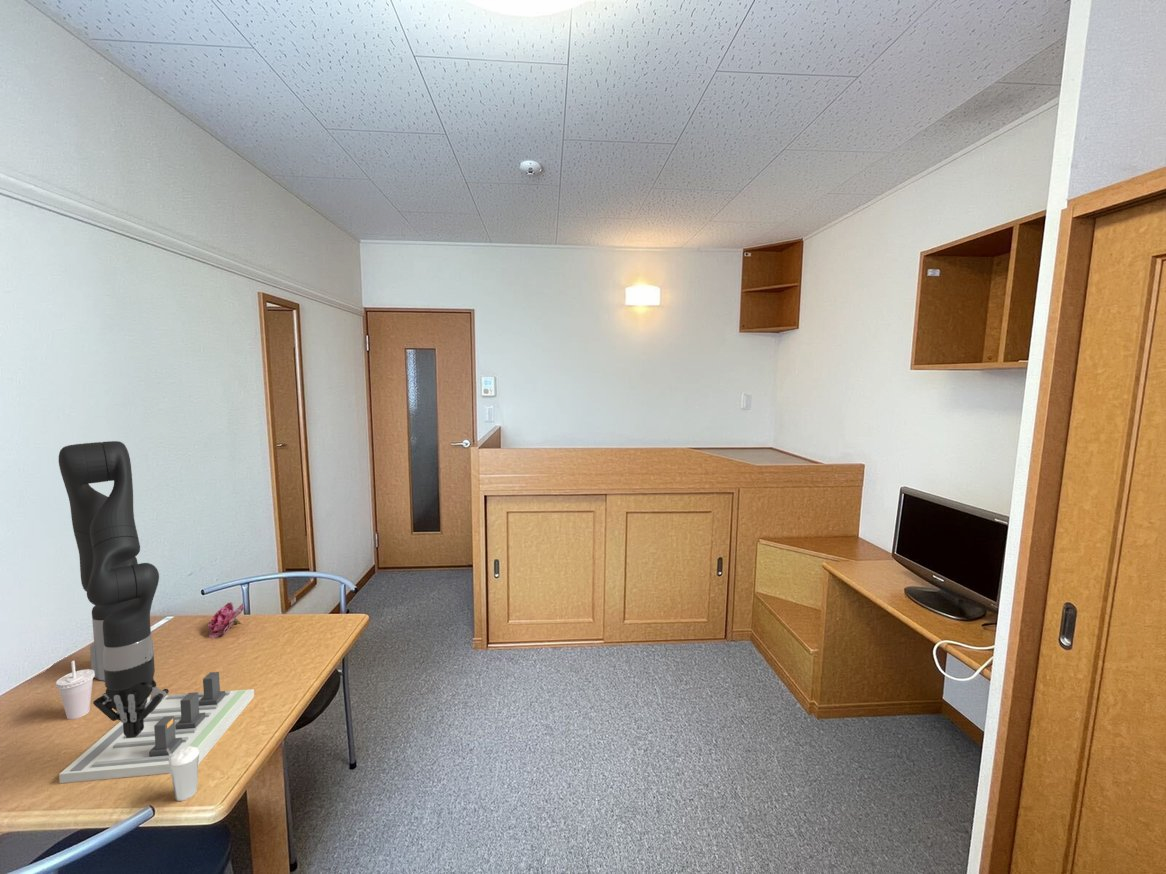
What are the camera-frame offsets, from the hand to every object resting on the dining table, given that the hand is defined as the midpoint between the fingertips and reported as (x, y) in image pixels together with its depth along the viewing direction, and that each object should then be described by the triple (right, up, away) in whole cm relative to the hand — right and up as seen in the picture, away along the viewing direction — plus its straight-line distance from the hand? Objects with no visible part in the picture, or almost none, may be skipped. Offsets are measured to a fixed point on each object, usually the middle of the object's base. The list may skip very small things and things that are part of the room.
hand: (134, 735), depth 98 cm
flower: (-22, -1, +53) cm, 58 cm away
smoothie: (-27, -4, +14) cm, 31 cm away
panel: (0, -5, +8) cm, 10 cm away
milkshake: (+17, -8, -7) cm, 20 cm away
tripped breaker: (+6, -4, +1) cm, 7 cm away
